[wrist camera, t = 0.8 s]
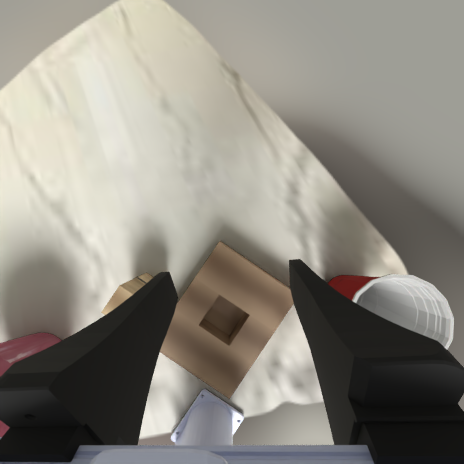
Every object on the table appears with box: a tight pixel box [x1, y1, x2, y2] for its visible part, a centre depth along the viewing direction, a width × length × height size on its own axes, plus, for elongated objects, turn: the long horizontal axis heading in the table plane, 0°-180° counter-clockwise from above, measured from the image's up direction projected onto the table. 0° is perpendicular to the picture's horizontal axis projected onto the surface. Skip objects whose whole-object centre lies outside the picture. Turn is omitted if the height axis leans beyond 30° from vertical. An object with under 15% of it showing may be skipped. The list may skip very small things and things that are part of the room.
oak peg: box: [101, 273, 153, 315], centre depth 29 cm, size 4×4×8 cm
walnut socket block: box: [160, 241, 294, 399], centre depth 31 cm, size 18×14×4 cm
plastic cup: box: [328, 274, 454, 349], centre depth 27 cm, size 11×11×12 cm
